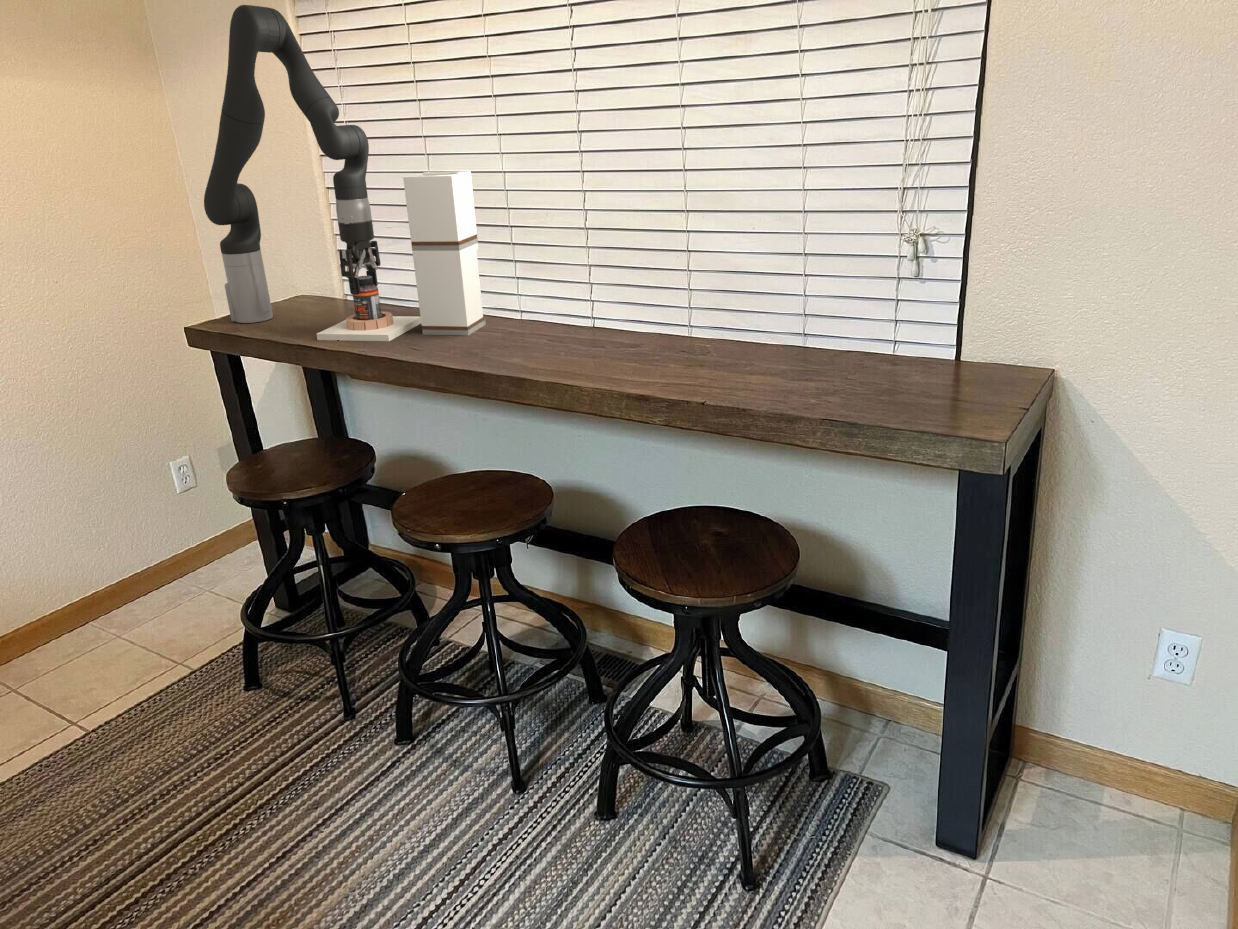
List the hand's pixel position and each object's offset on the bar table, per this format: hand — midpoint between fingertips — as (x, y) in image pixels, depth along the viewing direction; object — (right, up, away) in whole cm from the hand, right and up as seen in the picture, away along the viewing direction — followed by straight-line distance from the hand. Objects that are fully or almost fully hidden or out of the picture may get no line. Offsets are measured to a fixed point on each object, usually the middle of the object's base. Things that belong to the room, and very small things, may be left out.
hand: (364, 290), depth 214 cm
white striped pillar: (+21, -9, +2) cm, 23 cm away
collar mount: (+1, -9, +4) cm, 10 cm away
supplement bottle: (0, -8, +3) cm, 8 cm away
